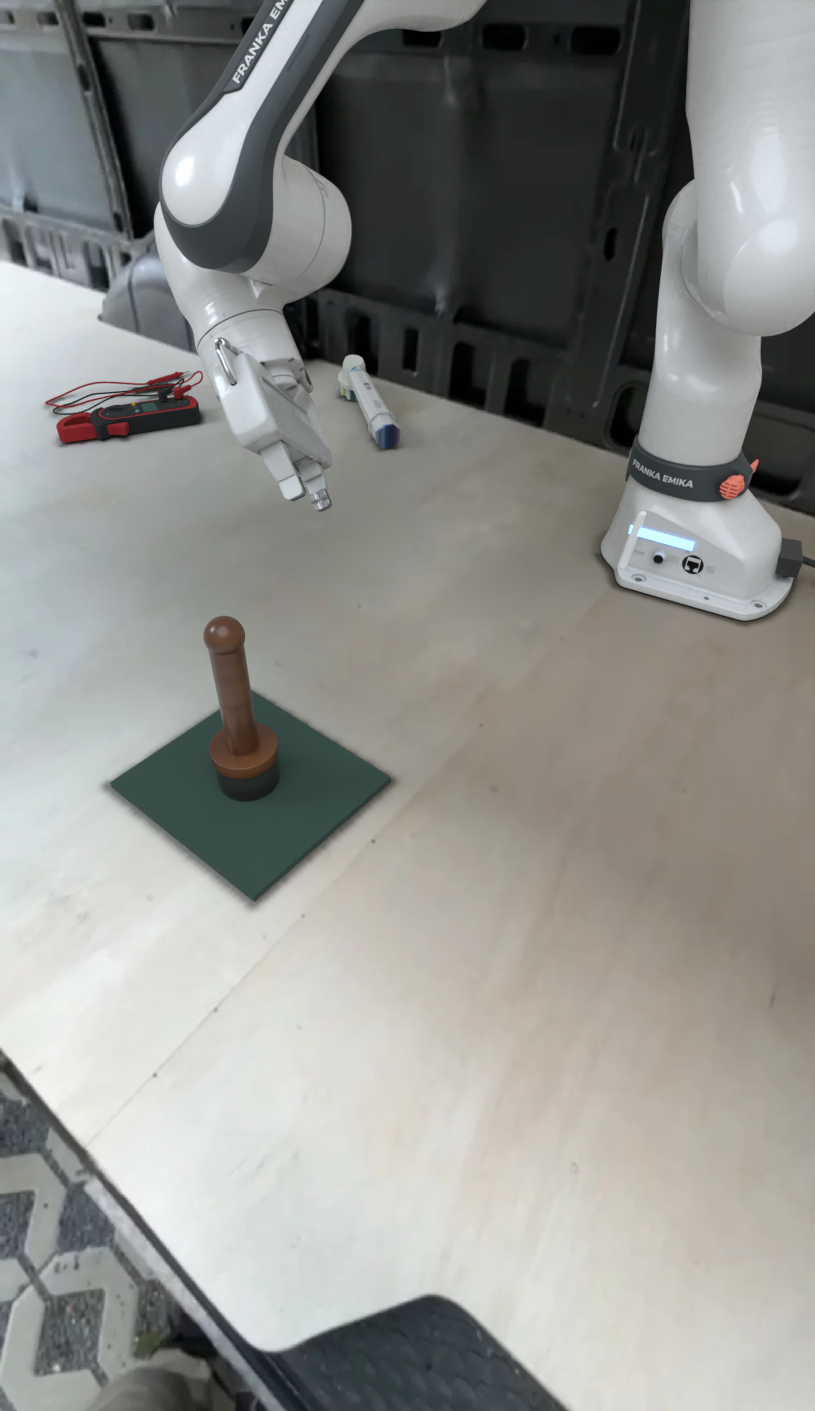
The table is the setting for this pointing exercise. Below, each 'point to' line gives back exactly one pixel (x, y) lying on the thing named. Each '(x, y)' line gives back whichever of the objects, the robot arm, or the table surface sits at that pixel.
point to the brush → (238, 719)
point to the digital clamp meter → (131, 411)
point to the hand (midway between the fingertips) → (311, 504)
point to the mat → (260, 832)
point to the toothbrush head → (368, 402)
